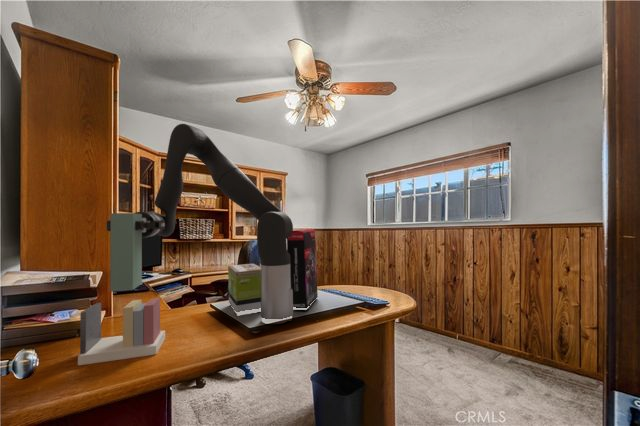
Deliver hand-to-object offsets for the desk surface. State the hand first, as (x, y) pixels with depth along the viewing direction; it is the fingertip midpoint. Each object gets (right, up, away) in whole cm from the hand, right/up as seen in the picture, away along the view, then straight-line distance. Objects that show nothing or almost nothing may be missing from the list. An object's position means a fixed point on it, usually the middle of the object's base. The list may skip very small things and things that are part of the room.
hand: (124, 225), depth 69 cm
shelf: (0, -30, 0) cm, 30 cm away
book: (0, -15, +1) cm, 15 cm away
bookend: (-7, -28, -2) cm, 29 cm away
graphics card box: (+41, -30, +35) cm, 62 cm away
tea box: (+21, -31, +32) cm, 49 cm away
